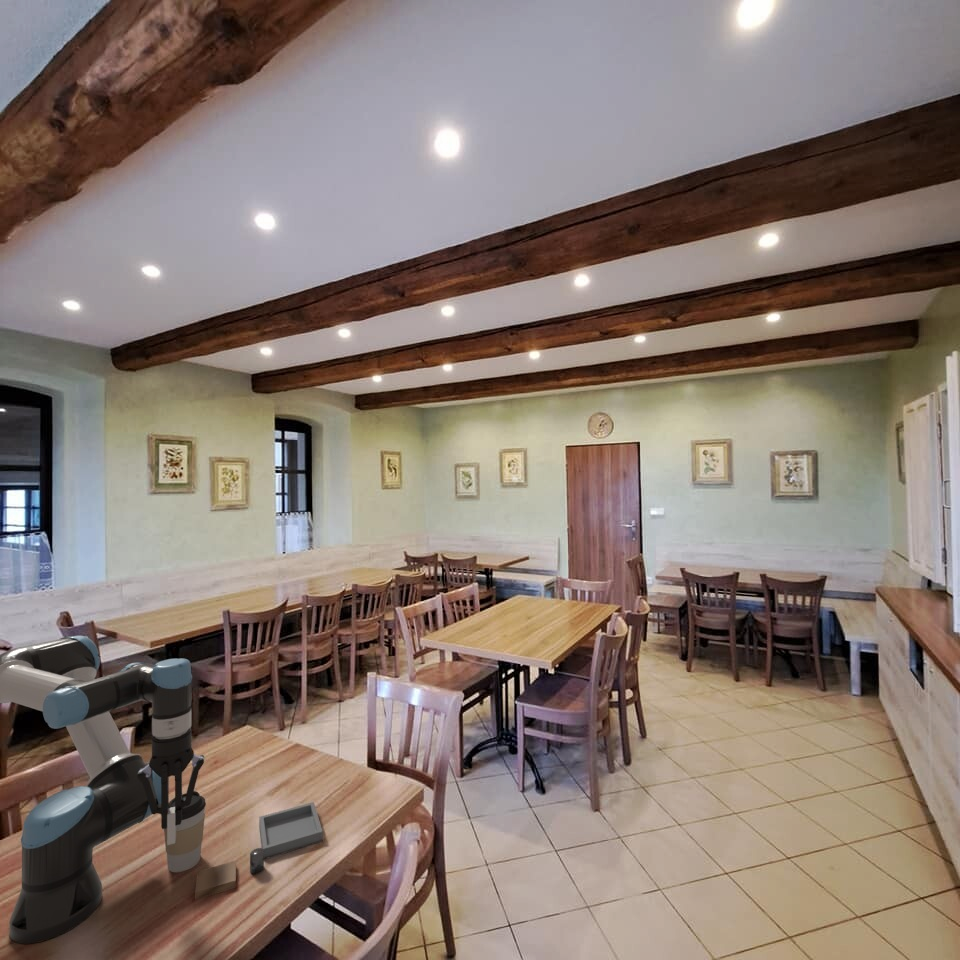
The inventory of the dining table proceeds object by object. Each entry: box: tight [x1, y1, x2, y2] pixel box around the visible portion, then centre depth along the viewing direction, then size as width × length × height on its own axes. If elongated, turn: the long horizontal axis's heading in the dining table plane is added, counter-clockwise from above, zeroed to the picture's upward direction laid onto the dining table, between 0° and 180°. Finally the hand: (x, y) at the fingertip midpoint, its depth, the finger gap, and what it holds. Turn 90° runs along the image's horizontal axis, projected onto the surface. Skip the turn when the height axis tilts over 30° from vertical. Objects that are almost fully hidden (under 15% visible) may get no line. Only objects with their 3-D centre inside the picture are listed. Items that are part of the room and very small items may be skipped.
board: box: [194, 860, 237, 900], centre depth 116 cm, size 8×7×2 cm
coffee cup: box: [163, 790, 207, 873], centre depth 123 cm, size 9×9×15 cm
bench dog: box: [249, 847, 265, 875], centre depth 120 cm, size 3×3×4 cm
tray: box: [258, 801, 324, 860], centre depth 133 cm, size 14×14×2 cm
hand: (171, 840), depth 113 cm, fingers closed
